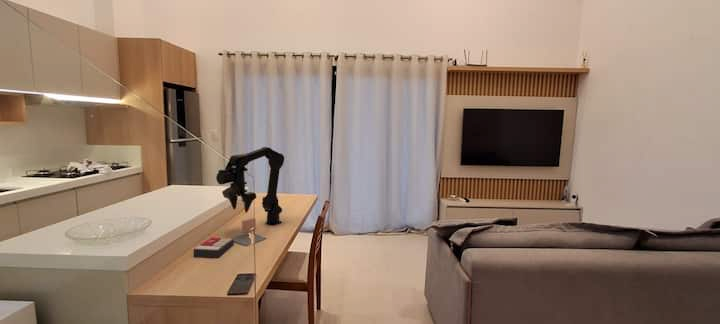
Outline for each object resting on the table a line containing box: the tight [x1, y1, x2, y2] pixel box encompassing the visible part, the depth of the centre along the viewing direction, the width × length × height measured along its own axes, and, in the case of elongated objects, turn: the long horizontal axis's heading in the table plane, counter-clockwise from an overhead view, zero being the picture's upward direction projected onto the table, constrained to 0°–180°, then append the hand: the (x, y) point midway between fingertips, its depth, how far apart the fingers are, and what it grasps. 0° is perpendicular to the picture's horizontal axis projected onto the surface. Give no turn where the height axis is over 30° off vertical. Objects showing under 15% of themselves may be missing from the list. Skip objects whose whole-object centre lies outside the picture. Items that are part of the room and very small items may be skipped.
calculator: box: [193, 237, 235, 259], centre depth 150 cm, size 11×4×15 cm
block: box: [241, 217, 257, 234], centre depth 176 cm, size 7×2×6 cm, turn 147°
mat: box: [230, 232, 267, 247], centre depth 164 cm, size 12×13×1 cm
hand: (240, 210), depth 170 cm, fingers open, 9 cm apart
